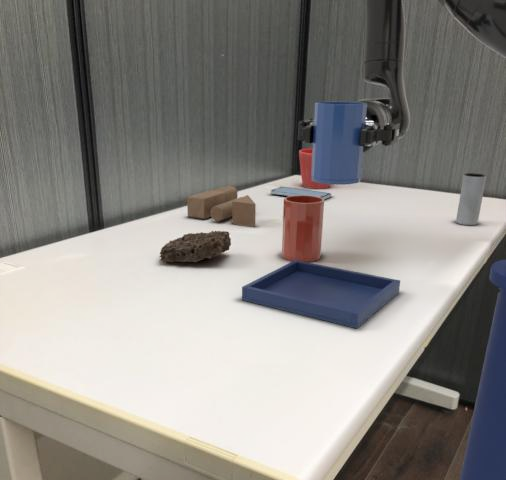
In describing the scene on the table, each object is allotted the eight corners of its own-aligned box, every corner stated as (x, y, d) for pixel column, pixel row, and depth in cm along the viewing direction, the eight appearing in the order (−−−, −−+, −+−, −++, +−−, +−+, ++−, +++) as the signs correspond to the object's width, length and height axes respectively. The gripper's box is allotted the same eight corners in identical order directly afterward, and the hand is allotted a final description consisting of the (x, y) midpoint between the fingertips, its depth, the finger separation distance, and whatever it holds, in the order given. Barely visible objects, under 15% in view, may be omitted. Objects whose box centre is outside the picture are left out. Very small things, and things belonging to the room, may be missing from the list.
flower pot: (341, 189, 160) (344, 152, 156) (304, 190, 157) (306, 153, 153) (327, 182, 169) (329, 148, 165) (292, 183, 167) (293, 148, 162)
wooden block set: (183, 192, 123) (225, 180, 138) (184, 218, 126) (226, 204, 140) (253, 200, 116) (289, 187, 131) (252, 228, 118) (288, 211, 133)
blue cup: (368, 179, 81) (375, 103, 76) (347, 186, 75) (354, 105, 71) (324, 174, 84) (329, 101, 80) (302, 181, 79) (306, 102, 74)
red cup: (327, 254, 102) (331, 198, 98) (309, 264, 97) (312, 205, 92) (293, 248, 105) (296, 193, 101) (274, 257, 100) (276, 200, 96)
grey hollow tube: (469, 220, 128) (477, 172, 123) (481, 224, 124) (490, 176, 119) (451, 221, 127) (459, 173, 122) (463, 225, 123) (471, 176, 118)
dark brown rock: (237, 254, 101) (237, 226, 99) (218, 271, 93) (217, 241, 91) (177, 248, 104) (176, 220, 102) (153, 264, 96) (151, 234, 93)
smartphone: (321, 198, 144) (269, 190, 150) (320, 202, 144) (269, 194, 151) (332, 193, 149) (282, 186, 156) (332, 197, 150) (282, 189, 156)
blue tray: (398, 293, 85) (400, 280, 84) (356, 328, 73) (358, 314, 72) (294, 271, 93) (295, 259, 92) (241, 300, 81) (241, 286, 80)
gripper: (317, 99, 90) (284, 103, 76) (410, 101, 85) (393, 107, 71) (315, 148, 93) (282, 162, 79) (404, 154, 88) (386, 169, 74)
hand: (335, 136), depth 75 cm, fingers closed on blue cup, 7 cm apart
